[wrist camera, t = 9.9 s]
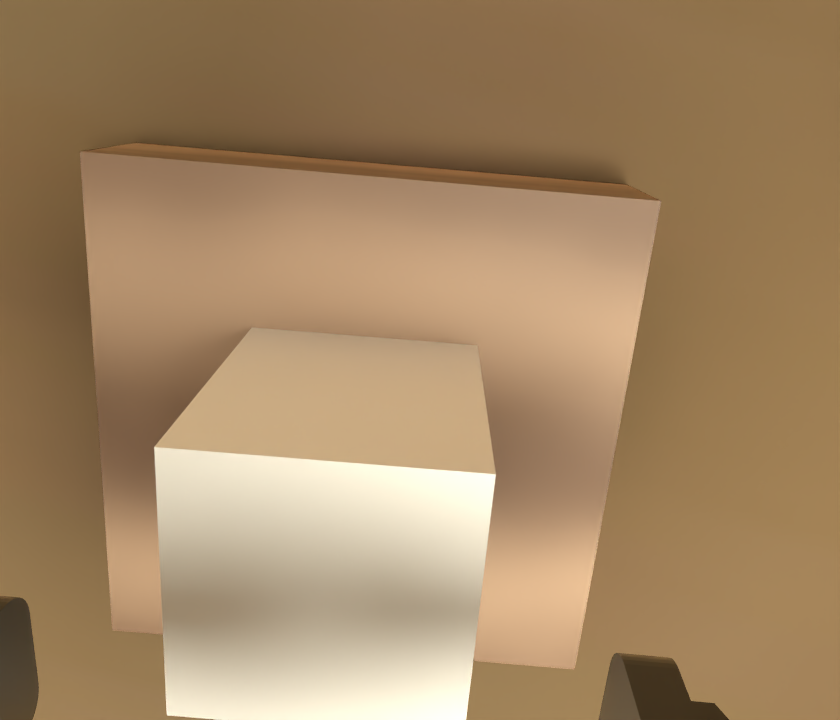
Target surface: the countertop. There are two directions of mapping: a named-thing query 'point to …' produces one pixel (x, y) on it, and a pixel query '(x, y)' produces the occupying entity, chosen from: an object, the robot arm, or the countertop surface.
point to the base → (375, 317)
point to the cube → (326, 531)
